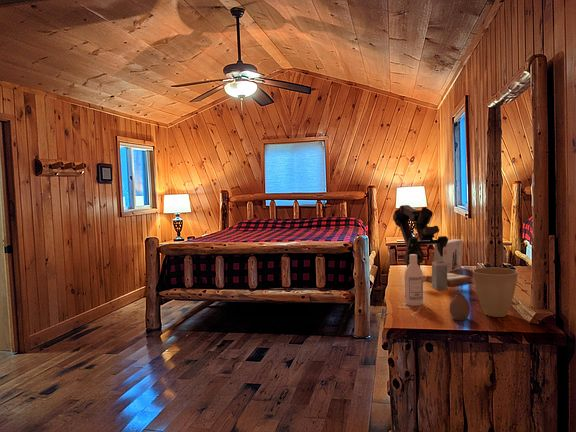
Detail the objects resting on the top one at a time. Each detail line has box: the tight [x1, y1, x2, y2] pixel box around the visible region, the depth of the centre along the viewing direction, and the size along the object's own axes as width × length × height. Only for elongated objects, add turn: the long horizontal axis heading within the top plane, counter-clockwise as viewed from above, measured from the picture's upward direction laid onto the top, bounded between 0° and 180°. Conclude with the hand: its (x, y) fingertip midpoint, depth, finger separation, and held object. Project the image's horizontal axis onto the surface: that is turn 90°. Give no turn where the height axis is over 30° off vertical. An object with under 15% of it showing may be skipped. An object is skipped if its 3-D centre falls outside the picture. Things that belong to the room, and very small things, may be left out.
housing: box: [431, 260, 448, 291], centre depth 214 cm, size 5×5×12 cm
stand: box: [426, 272, 472, 287], centre depth 228 cm, size 14×14×3 cm
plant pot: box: [472, 267, 519, 318], centre depth 171 cm, size 15×15×16 cm
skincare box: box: [433, 238, 463, 273], centre depth 253 cm, size 21×6×16 cm, turn 132°
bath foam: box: [404, 254, 424, 307], centre depth 189 cm, size 7×7×20 cm
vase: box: [449, 293, 471, 321], centre depth 168 cm, size 7×7×9 cm
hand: (432, 256), depth 221 cm, fingers open, 9 cm apart
